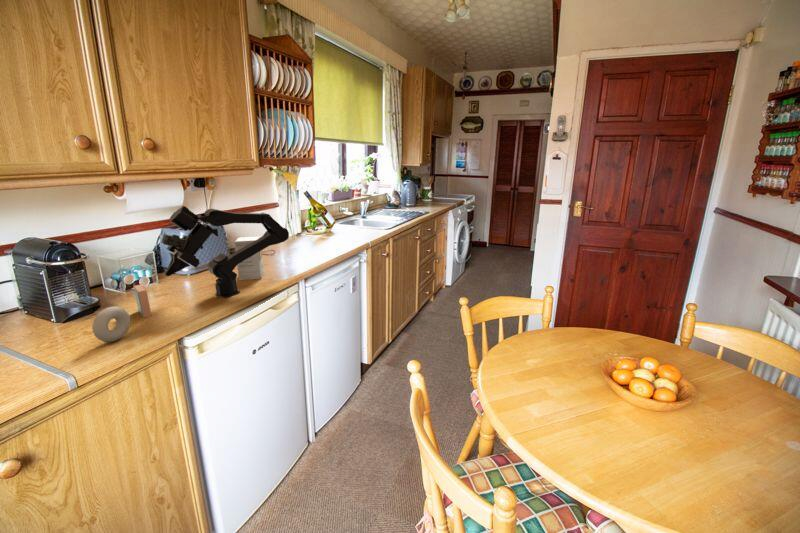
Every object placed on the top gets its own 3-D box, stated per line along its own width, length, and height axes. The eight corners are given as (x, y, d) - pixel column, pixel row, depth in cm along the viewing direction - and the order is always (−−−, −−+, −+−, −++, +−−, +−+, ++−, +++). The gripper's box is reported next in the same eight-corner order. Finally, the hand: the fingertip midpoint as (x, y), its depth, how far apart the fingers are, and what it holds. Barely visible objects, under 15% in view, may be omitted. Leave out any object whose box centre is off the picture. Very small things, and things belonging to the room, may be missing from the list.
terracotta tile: (146, 309, 129) (141, 284, 126) (151, 315, 123) (146, 290, 121) (138, 311, 127) (133, 286, 125) (143, 318, 122) (137, 291, 119)
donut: (103, 349, 101) (95, 315, 99) (93, 347, 102) (84, 314, 100) (136, 333, 111) (129, 301, 108) (127, 332, 112) (120, 300, 109)
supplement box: (261, 278, 160) (257, 240, 155) (238, 280, 158) (233, 241, 154) (264, 272, 169) (260, 235, 164) (242, 274, 167) (237, 237, 163)
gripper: (168, 221, 133) (137, 257, 128) (182, 228, 119) (149, 268, 115) (196, 240, 140) (168, 274, 136) (212, 248, 127) (181, 286, 123)
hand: (166, 275), depth 127 cm, fingers closed
